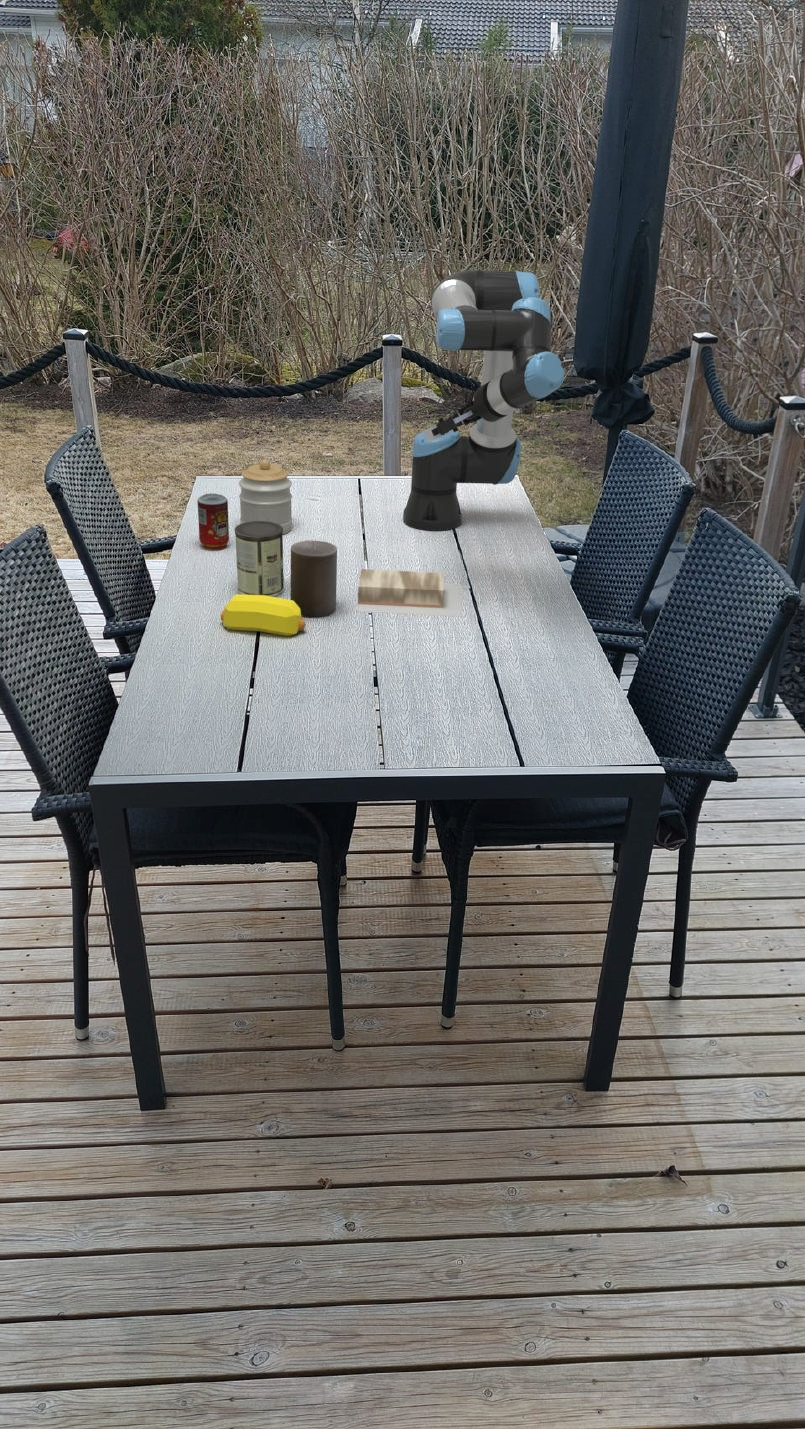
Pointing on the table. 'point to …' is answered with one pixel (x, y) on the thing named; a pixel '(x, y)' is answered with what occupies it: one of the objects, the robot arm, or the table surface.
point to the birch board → (400, 588)
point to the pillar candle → (314, 577)
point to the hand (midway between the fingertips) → (428, 435)
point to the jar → (266, 495)
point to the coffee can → (259, 558)
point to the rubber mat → (449, 607)
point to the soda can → (213, 521)
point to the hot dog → (263, 615)
